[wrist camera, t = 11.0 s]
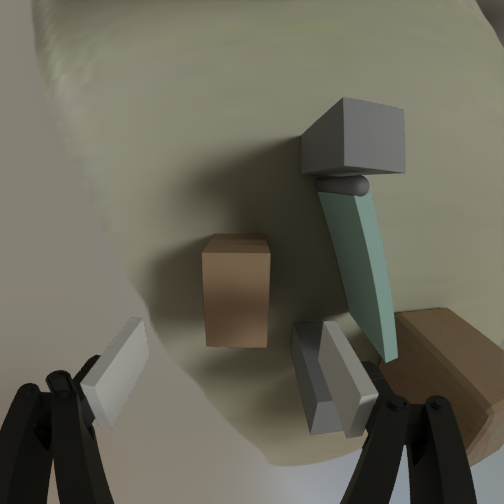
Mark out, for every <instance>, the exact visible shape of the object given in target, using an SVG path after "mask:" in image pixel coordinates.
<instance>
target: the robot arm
mask: <svg viewBox="0 0 504 504" xmlns="http://www.w3.org/2000/svg"><path fill="white" fill-rule="evenodd" d="M149 356H150V354H149V349H148V343H147V338H146V332H145V326H144V320H143V318H136V317H132V318H131V319H130V320H129V321H128V323H127V324H126V325H125V326H124V327H123V329H122V330H121V331H120V332H119V334H118V335H117V336H116V337H115V339H114V340H113V341H112V343H111V344H110V345H109V346H108V348H107V349H106V350H105V352H104V353H103V354H102V355H101V356H100V355H95V356H93V357H91V358H90V359H88V361H87V362H86V363H85V365H84V366H83V367H82V368H81V371H79V372H78V373H77V374H76V376H75V377H74V378H73V379H72V378H71V375H70V374H69V373H68V372H67V371H63V370H58V371H54V372H52V373H50V374H49V375H48V376H47V378H46V383H47V385H48V387H49V389H50V391H51V392H41V391H40V389H39V387H38V386H37V385H36V384H33V383H27V384H24V385H22V386H21V387H20V388H19V389H18V391H17V393H16V395H15V397H14V400H13V402H12V404H11V406H10V408H9V411H8V413H7V415H6V418H5V420H4V422H3V425H2V427H1V430H0V504H47V495H48V487H49V479H50V473H51V467H52V461H53V459H54V468H55V476H56V484H57V490H58V496H59V501H60V504H114V501H113V499H112V496H111V493H110V490H109V486H108V483H107V480H106V476H105V473H104V469H103V465H102V462H101V457H100V453H99V449H98V445H97V440H96V435H95V430H94V427H93V425H92V422H93V421H94V419H96V421H97V423H98V425H99V426H101V427H104V428H109V429H113V427H114V425H115V423H116V421H117V419H118V417H119V415H120V413H121V411H122V409H123V407H124V405H125V403H126V401H127V399H128V397H129V395H130V393H131V391H132V389H133V387H134V385H135V383H136V381H137V380H138V378H139V376H140V374H141V372H142V370H143V368H144V366H145V364H146V362H147V360H148V358H149ZM318 361H319V364H320V366H321V369H322V372H323V375H324V377H325V380H326V383H327V385H328V388H329V391H330V394H331V396H332V399H333V402H334V405H335V407H336V410H337V413H338V416H339V419H340V421H341V424H342V427H343V430H344V433H345V435H346V438H352V437H358V436H362V435H363V432H364V430H365V428H366V430H367V432H368V436H367V438H366V440H365V443H364V445H363V447H362V449H363V450H362V452H361V455H360V458H359V460H358V463H357V465H356V468H355V471H354V473H353V475H352V478H351V480H350V483H349V485H348V487H347V489H346V492H345V494H344V496H343V498H342V500H341V502H340V504H389V501H390V498H391V494H392V491H393V487H394V484H395V481H396V476H397V473H398V469H399V465H400V460H401V456H402V451H403V446H404V445H406V448H407V457H408V468H409V483H410V504H477V500H476V495H475V489H474V484H473V480H472V475H471V470H470V466H469V462H468V458H467V454H466V451H465V447H464V444H463V440H462V437H461V434H460V430H459V427H458V424H457V421H456V418H455V415H454V412H453V409H452V406H451V404H450V402H449V400H448V399H446V398H445V397H443V396H440V395H433V396H430V397H429V398H427V400H426V402H425V404H410V403H409V402H408V400H407V399H406V398H404V397H402V396H399V395H395V393H394V392H393V390H392V389H391V387H390V385H389V384H388V382H387V381H386V379H385V378H384V376H383V375H382V373H381V371H380V370H379V368H378V367H377V366H376V365H375V364H373V363H372V362H371V361H365V362H360V360H359V359H358V357H357V355H356V354H355V352H354V350H353V349H352V347H351V345H350V343H349V342H348V340H347V338H346V337H345V335H344V333H343V332H342V330H341V329H340V327H339V325H338V324H337V322H336V321H323V329H322V336H321V343H320V350H319V356H318Z"/></svg>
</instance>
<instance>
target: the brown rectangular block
mask: <svg viewBox="0 0 504 504" xmlns="http://www.w3.org/2000/svg"><path fill="white" fill-rule="evenodd" d="M270 257H271V253H270V250H269V247H268V244H267V241H266V238H265V234H214V236H213V237H212V238H211V240H210V241H209V243H208V244H207V246H206V247H205V249H204V250H203V252H202V274H203V298H204V317H205V333H206V346H210V347H245V348H267V333H268V310H269V285H270Z"/></svg>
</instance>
